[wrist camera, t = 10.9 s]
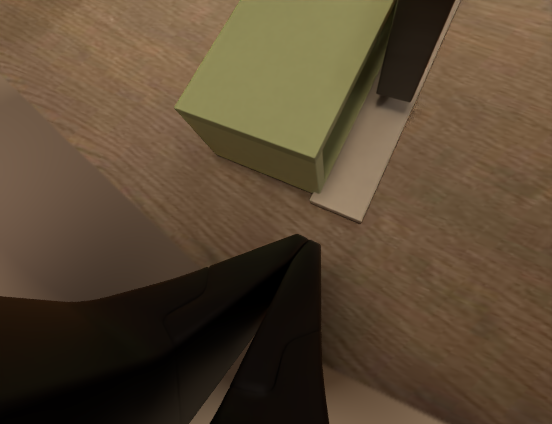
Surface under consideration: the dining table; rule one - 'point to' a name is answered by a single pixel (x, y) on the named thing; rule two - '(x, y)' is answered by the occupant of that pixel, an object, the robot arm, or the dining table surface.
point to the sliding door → (411, 45)
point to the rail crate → (303, 96)
